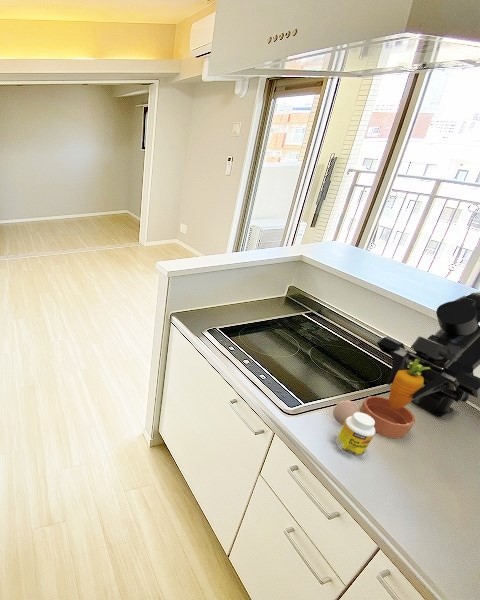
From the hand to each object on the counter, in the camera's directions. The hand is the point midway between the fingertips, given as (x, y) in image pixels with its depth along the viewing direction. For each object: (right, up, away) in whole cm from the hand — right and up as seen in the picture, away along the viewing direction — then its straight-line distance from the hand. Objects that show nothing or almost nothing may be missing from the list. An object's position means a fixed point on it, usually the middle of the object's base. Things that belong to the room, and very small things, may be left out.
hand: (399, 391), depth 78 cm
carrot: (+2, -6, +4) cm, 7 cm away
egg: (-6, -11, +10) cm, 16 cm away
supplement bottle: (-10, -15, +3) cm, 18 cm away
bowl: (+4, -11, +9) cm, 15 cm away
